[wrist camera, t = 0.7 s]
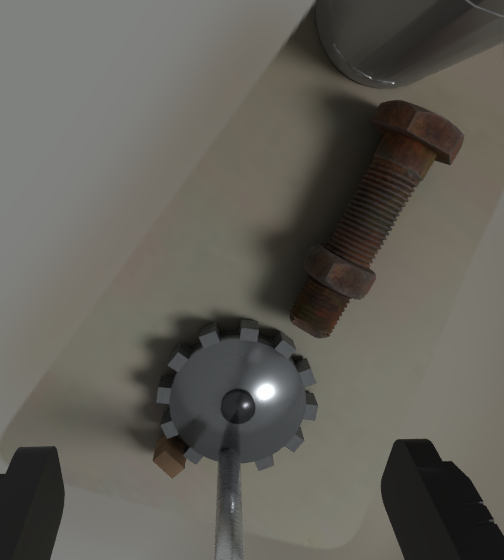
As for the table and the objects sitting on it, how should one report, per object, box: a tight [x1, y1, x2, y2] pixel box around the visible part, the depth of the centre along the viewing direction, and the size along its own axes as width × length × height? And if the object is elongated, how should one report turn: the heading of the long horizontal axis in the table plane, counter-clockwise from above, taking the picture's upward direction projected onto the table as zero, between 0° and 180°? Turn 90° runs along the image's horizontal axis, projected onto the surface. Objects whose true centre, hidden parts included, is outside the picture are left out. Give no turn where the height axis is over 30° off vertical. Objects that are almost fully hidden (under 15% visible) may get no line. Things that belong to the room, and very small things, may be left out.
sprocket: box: [156, 319, 318, 560], centre depth 26 cm, size 11×11×15 cm
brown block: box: [153, 435, 186, 478], centre depth 33 cm, size 1×2×2 cm, turn 41°
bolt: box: [289, 100, 464, 338], centre depth 29 cm, size 6×5×15 cm
